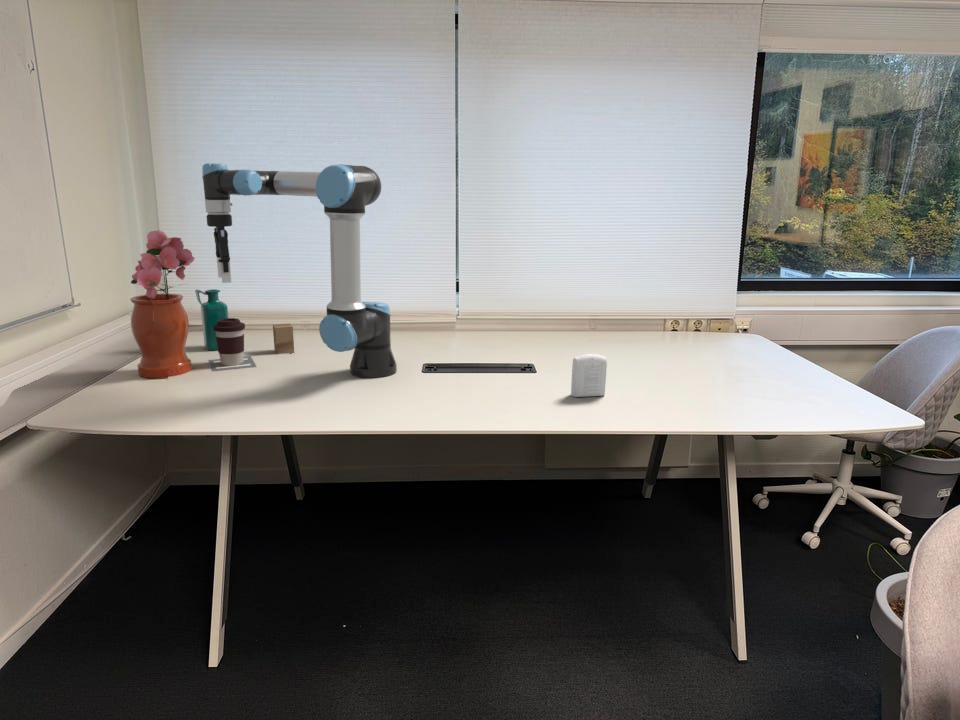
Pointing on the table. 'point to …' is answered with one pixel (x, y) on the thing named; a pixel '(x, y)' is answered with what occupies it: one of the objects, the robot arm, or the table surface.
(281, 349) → the walnut block
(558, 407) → the table surface
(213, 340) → the pitcher
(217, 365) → the letter mat
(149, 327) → the potted flower
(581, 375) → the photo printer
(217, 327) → the coffee cup
